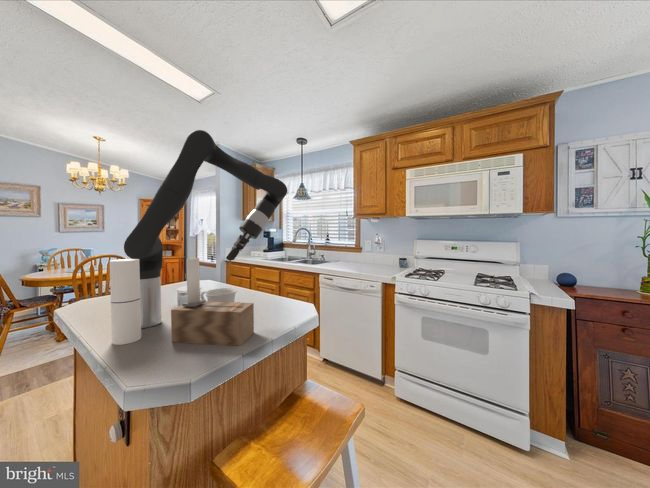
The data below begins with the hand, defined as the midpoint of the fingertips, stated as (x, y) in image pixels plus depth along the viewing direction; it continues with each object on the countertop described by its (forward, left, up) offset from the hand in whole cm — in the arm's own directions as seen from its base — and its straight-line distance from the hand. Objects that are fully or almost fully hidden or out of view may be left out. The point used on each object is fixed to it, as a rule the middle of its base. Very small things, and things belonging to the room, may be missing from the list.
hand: (229, 259), depth 90 cm
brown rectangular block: (+1, -12, -24) cm, 27 cm away
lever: (-6, -12, -13) cm, 19 cm away
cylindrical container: (-25, -17, -24) cm, 39 cm away
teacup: (-9, +8, -24) cm, 27 cm away
